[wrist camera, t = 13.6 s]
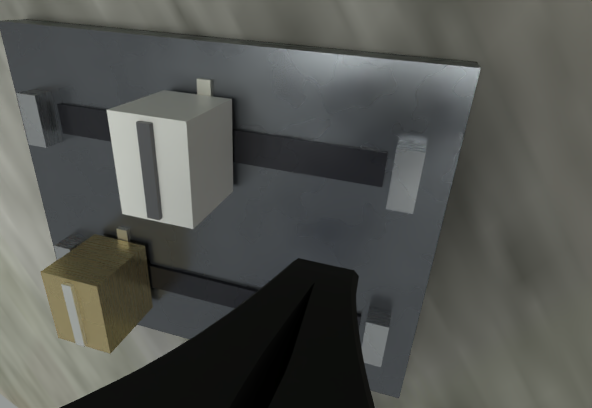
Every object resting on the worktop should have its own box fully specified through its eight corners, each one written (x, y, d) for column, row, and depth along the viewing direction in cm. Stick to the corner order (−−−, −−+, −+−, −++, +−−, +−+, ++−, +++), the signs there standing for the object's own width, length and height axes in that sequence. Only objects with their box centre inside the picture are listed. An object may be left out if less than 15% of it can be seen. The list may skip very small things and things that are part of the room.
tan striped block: (152, 307, 23) (107, 356, 20) (106, 294, 24) (55, 340, 21) (144, 245, 21) (93, 289, 18) (94, 234, 22) (36, 274, 19)
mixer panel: (401, 375, 22) (397, 415, 20) (85, 290, 27) (55, 315, 25) (476, 62, 15) (483, 72, 13) (26, 19, 20) (-24, 21, 18)
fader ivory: (233, 190, 18) (190, 231, 15) (171, 179, 19) (118, 216, 16) (231, 98, 16) (183, 123, 13) (164, 90, 17) (102, 111, 14)
